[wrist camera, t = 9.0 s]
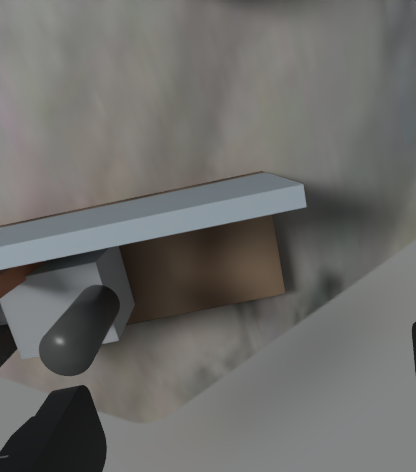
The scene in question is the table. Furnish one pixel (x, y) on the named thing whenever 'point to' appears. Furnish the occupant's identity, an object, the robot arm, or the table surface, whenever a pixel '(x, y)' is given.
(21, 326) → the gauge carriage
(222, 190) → the board
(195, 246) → the base
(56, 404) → the robot arm
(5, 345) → the textured charcoal block
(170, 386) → the table surface
